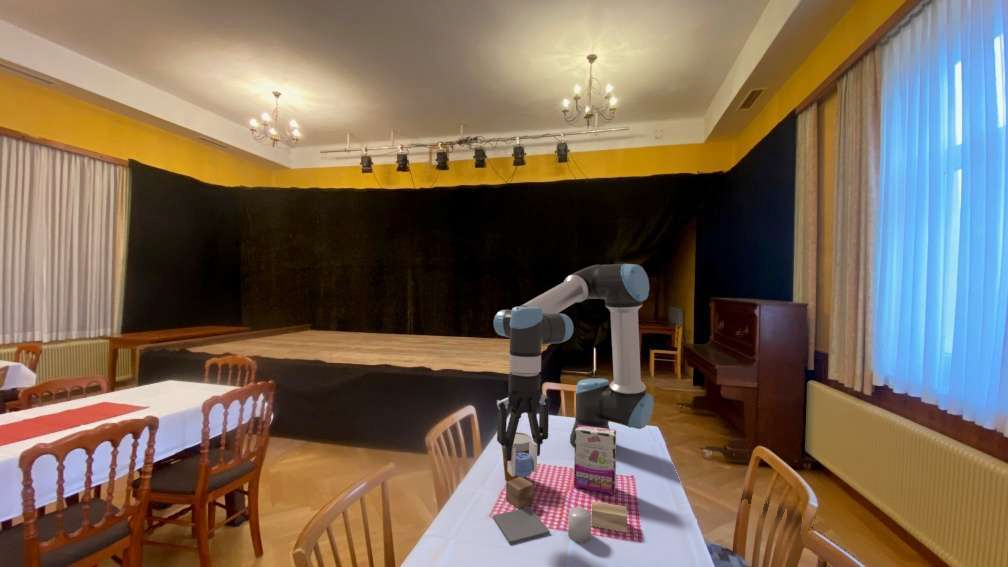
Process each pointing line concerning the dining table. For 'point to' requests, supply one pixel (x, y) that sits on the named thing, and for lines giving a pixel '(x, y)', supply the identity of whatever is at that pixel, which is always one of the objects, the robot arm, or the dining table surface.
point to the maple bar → (609, 516)
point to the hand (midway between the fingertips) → (522, 471)
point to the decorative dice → (523, 465)
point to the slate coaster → (520, 525)
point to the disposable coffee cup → (517, 451)
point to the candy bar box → (595, 459)
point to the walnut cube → (519, 492)
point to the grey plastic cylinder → (579, 525)
